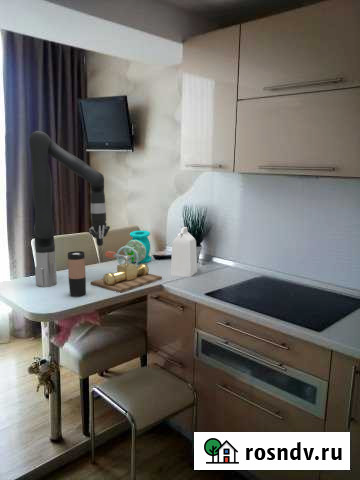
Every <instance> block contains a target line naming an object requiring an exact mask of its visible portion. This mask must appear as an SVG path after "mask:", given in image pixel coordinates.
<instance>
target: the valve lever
mask: <svg viewBox="0 0 360 480" xmlns="http://www.w3.org/2000/svg"><path fill="white" fill-rule="evenodd" d="M105 257H106V258H110V259H113V258H115V259H116V258H117V257H118V258H119V259H122V258H123V259H126V260H127V259H130V256H125V254H120V253H119V254H117V252H115V251H111V250H108V251H105Z"/></svg>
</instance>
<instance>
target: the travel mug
mask: <svg viewBox="0 0 360 480" xmlns="http://www.w3.org/2000/svg"><path fill="white" fill-rule="evenodd" d="M85 257H86V256H85V252H84V251H80V250H78V251H76V250H73V251H69V252H68V253H67V269H68V286H69V296H70V297H73V298H80V297H81V298H82V297H85V296H86V294H87V284H86V283H87V281H86V279H87V276H86V273H87V272H86V260H85Z"/></svg>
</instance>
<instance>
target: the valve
mask: <svg viewBox="0 0 360 480" xmlns="http://www.w3.org/2000/svg"><path fill="white" fill-rule="evenodd" d="M150 235H151V232H150V231H148V230H134V231H131V232H130V233H129V237H130V238H131V240H129V241H128V242H127V243H126V244H125V246H121V247H120V248H119V249H117V252H116V254H120V252H121V251H123V253H124V255H125V256H130V259H128V263H130V264H132V263H134V262H136V263H134V264H135V265H136V267H138V265H139V264H146V263H150V262H151V261H152V256H150V255H149V254H150V252H151V242H150V240H149V236H150ZM116 260H117V263H118V265H120V264H123V263H122V262H123V261H125V259H123V258H118V257H116Z"/></svg>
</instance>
